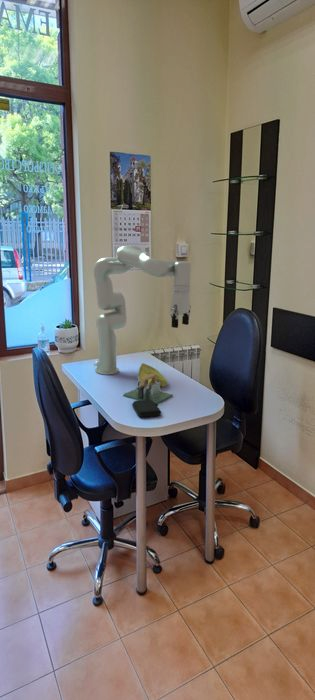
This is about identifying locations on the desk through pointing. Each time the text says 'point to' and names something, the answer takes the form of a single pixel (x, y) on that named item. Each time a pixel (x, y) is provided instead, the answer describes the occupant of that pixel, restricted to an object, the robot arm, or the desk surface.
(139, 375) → the plastic component
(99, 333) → the robot arm
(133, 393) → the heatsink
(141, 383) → the tan rectangular block
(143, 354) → the desk surface
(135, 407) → the carrying case or bag
